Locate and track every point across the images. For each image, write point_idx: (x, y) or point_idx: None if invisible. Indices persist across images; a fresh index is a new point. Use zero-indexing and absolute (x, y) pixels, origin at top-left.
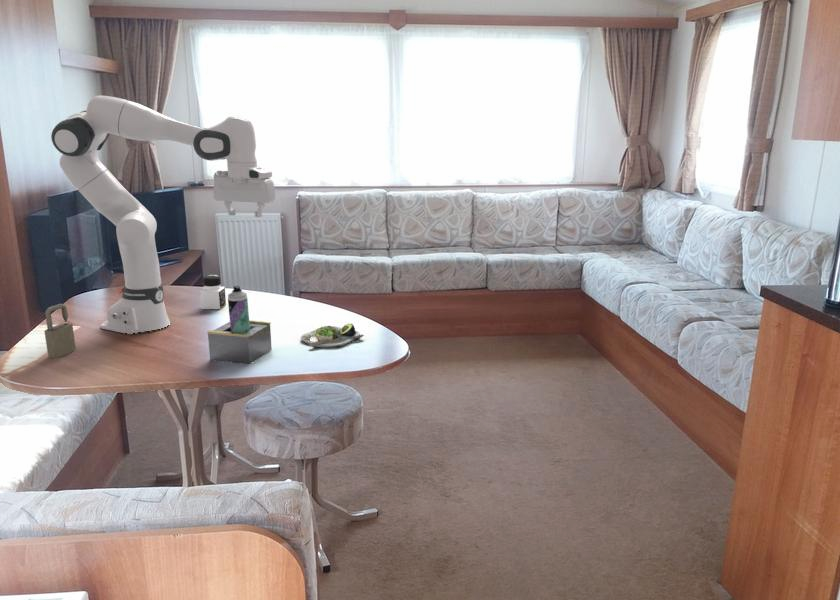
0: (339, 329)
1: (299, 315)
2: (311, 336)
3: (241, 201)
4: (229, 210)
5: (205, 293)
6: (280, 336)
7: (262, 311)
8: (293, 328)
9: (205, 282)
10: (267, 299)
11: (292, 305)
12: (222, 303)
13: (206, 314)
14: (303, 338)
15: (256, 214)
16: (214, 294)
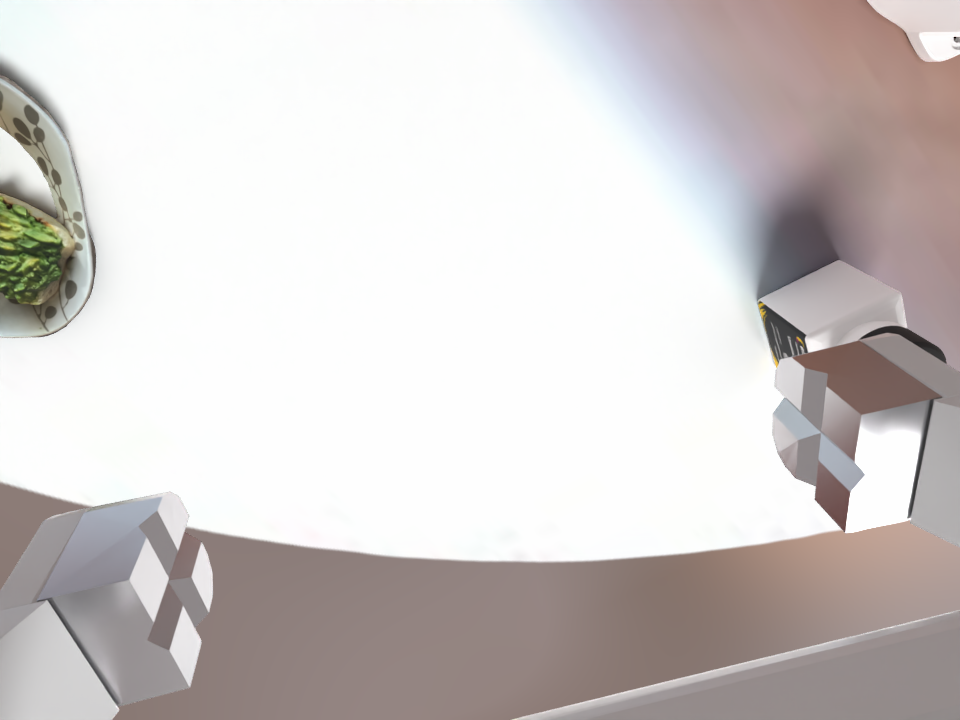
0: (4, 323)
1: (374, 411)
2: (54, 184)
3: (576, 705)
4: (934, 388)
5: (867, 300)
6: (203, 112)
7: (565, 374)
8: (249, 250)
9: (908, 334)
10: (653, 503)
11: (502, 496)
12: (774, 335)
13: (778, 215)
14: (11, 98)
15: (97, 532)
16: (820, 318)
